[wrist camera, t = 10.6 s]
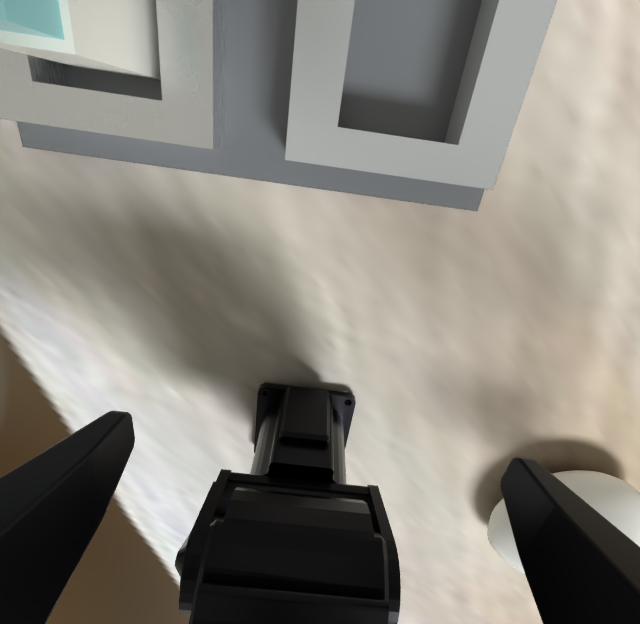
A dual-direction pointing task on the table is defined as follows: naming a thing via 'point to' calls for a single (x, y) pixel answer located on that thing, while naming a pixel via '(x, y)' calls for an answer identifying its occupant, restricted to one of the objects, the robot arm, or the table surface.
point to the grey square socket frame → (469, 109)
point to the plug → (85, 33)
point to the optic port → (128, 111)
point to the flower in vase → (595, 489)
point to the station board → (274, 97)
